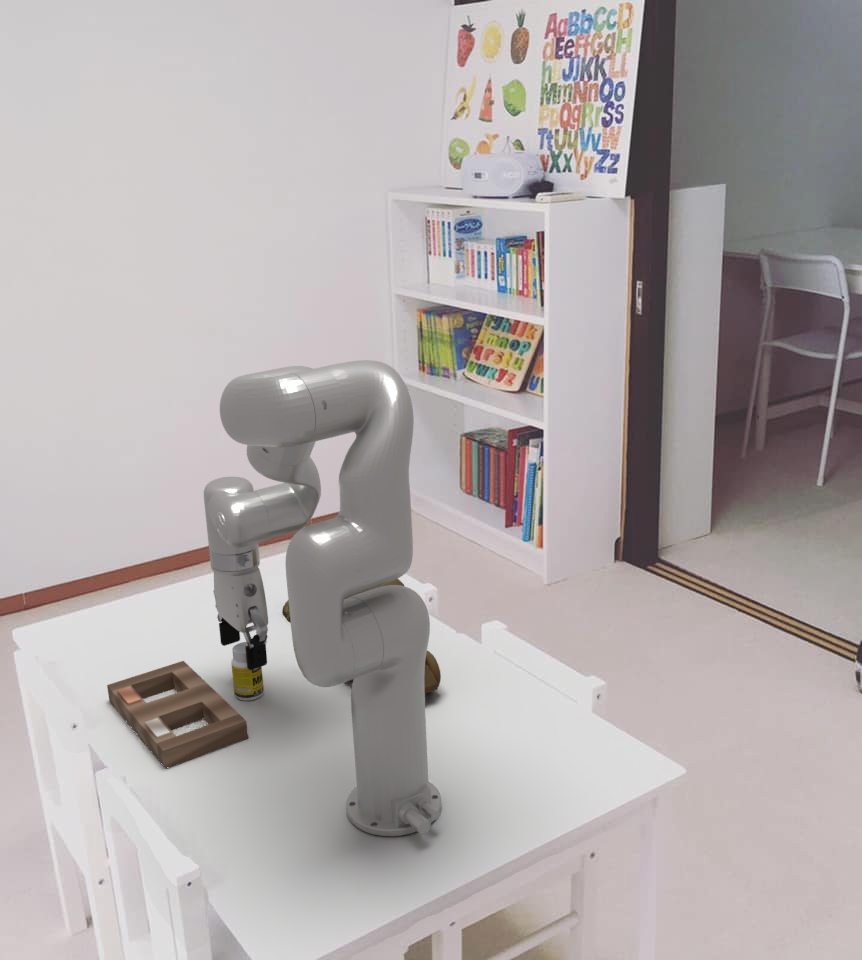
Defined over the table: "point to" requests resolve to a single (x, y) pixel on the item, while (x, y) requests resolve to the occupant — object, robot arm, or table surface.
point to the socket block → (177, 713)
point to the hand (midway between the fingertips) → (243, 654)
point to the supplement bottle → (245, 675)
